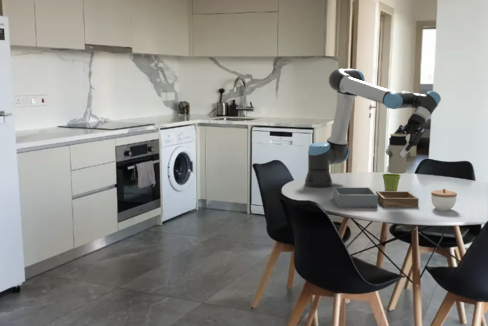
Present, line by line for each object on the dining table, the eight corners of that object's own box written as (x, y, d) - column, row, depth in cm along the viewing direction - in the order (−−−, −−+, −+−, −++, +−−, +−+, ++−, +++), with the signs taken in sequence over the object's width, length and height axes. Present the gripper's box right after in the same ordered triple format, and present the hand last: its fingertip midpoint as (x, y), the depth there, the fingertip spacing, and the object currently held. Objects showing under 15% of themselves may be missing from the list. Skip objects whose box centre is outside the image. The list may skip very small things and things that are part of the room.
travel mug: (403, 171, 255) (405, 133, 252) (407, 174, 247) (409, 135, 245) (386, 170, 256) (388, 133, 253) (389, 173, 248) (391, 135, 245)
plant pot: (400, 193, 275) (401, 176, 274) (382, 192, 277) (382, 176, 276) (399, 189, 284) (400, 173, 283) (381, 189, 286) (381, 173, 285)
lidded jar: (426, 206, 246) (427, 186, 245) (449, 206, 247) (450, 186, 246) (436, 212, 236) (438, 191, 234) (460, 211, 237) (461, 191, 235)
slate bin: (332, 199, 263) (332, 187, 262) (369, 199, 262) (369, 187, 261) (338, 207, 245) (338, 195, 244) (377, 207, 244) (378, 195, 243)
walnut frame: (375, 199, 262) (375, 191, 261) (408, 199, 262) (408, 191, 261) (383, 206, 246) (383, 198, 246) (418, 207, 246) (418, 198, 245)
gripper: (440, 125, 248) (415, 162, 242) (405, 122, 266) (381, 157, 260) (433, 114, 245) (408, 152, 239) (398, 112, 262) (373, 147, 256)
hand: (394, 154), depth 249 cm, fingers closed on travel mug, 8 cm apart
